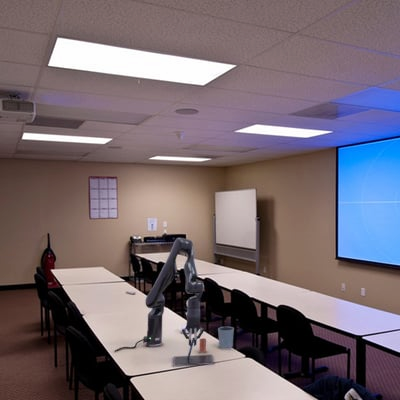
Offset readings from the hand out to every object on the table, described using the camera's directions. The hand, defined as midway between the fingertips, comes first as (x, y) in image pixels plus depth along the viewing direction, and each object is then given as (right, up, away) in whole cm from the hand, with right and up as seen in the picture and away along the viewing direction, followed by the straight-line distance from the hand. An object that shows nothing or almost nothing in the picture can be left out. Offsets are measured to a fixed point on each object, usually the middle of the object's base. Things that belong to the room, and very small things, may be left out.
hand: (192, 345), depth 244 cm
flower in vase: (-12, -11, +58) cm, 60 cm away
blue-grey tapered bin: (+17, -10, +26) cm, 32 cm away
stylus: (-3, -8, -1) cm, 8 cm away
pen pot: (+4, -9, +15) cm, 18 cm away
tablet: (0, -9, 0) cm, 9 cm away
